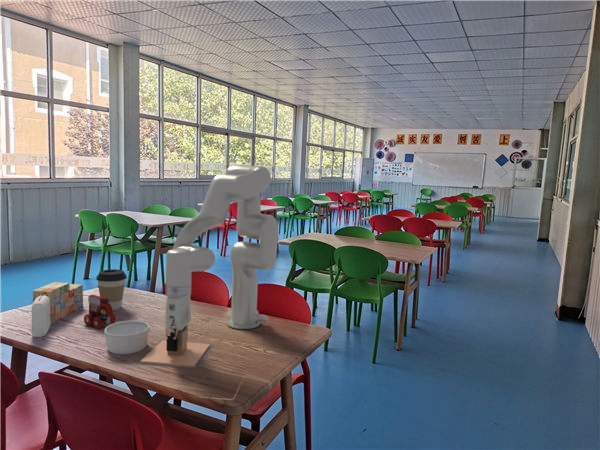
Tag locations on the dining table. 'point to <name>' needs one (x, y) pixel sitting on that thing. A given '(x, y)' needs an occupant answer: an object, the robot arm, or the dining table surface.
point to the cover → (177, 352)
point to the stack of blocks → (61, 298)
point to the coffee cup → (112, 286)
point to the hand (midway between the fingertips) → (177, 345)
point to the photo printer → (40, 316)
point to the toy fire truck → (99, 312)
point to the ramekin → (127, 337)
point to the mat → (176, 366)
